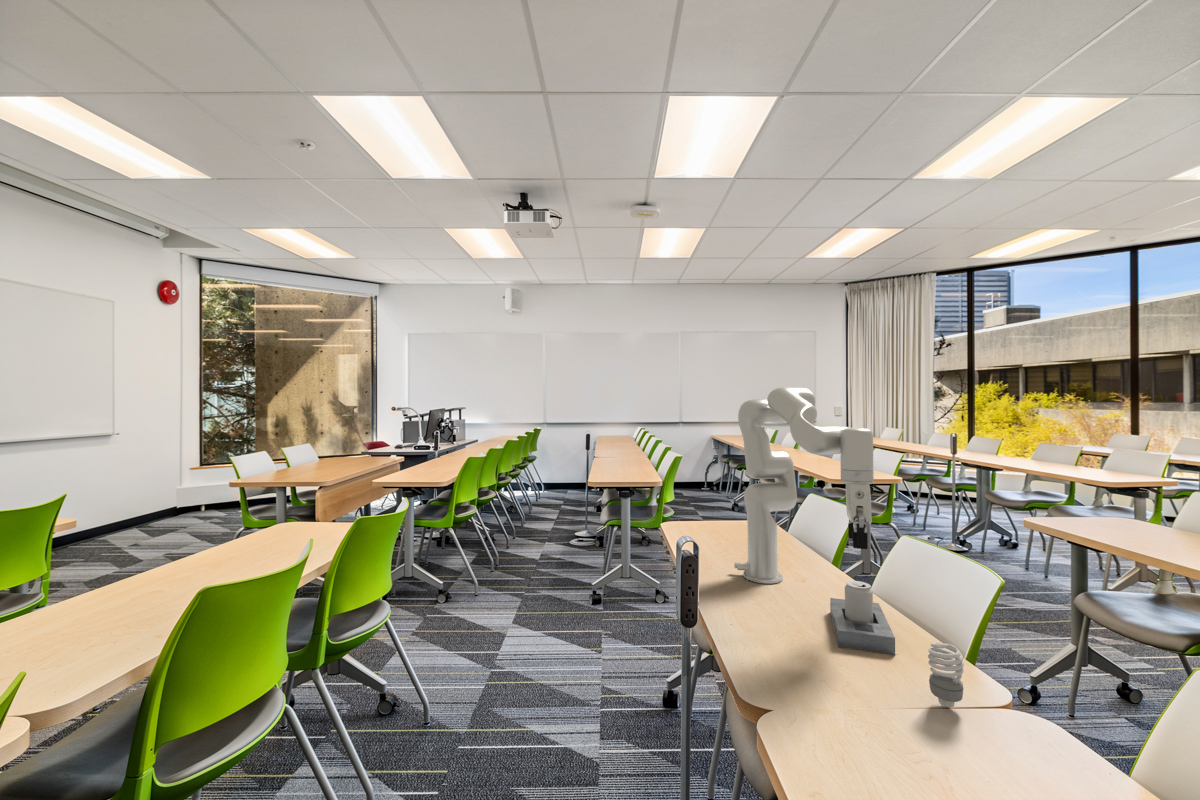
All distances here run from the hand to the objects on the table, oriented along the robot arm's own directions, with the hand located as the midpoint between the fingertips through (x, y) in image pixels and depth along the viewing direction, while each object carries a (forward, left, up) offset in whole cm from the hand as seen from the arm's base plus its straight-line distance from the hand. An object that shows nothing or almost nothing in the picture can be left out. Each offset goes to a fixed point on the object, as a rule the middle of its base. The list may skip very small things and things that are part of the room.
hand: (857, 543), depth 130 cm
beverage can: (0, 0, -23) cm, 23 cm away
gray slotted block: (0, 0, -22) cm, 22 cm away
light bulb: (+11, -31, -23) cm, 40 cm away
